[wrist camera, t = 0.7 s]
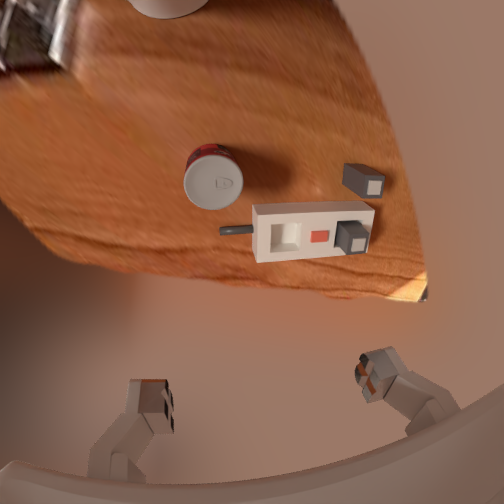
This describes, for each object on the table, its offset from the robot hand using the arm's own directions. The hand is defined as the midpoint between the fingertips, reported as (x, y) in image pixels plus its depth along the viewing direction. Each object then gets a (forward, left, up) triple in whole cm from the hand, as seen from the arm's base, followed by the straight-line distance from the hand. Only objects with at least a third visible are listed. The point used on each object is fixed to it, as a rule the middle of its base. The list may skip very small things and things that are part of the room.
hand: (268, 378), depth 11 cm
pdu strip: (+13, +14, -42) cm, 46 cm away
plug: (+3, +25, -42) cm, 49 cm away
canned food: (+1, -1, -42) cm, 42 cm away
